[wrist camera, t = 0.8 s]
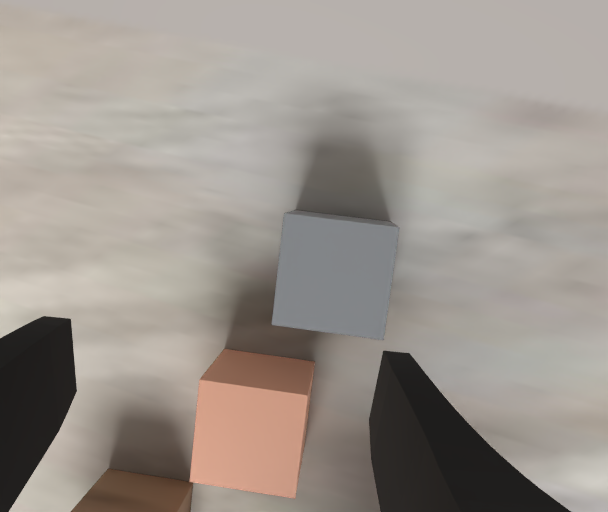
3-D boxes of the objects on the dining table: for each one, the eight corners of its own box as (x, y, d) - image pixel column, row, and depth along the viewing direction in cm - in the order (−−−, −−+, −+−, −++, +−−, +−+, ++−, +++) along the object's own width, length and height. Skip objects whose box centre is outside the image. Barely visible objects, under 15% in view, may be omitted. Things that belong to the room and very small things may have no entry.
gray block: (377, 314, 28) (383, 340, 24) (284, 302, 29) (271, 324, 24) (390, 221, 28) (399, 227, 23) (295, 209, 28) (284, 213, 23)
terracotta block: (304, 447, 30) (295, 498, 25) (215, 434, 30) (189, 481, 25) (314, 361, 29) (307, 395, 24) (224, 348, 29) (199, 379, 24)
